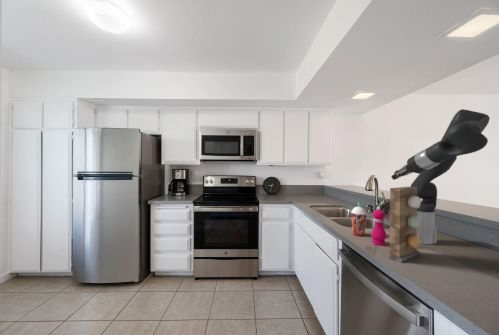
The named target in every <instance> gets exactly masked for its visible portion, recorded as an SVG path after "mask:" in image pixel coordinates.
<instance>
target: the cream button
mask: <svg viewBox="0 0 499 335" xmlns="http://www.w3.org/2000/svg"><path fill="white" fill-rule="evenodd" d="M421 201H422V199H420V198H419V197H416V196H409V197H408V201H407V203H408V206H409V207H414V208H419V207H420V203H421Z"/></svg>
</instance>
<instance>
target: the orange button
mask: <svg viewBox="0 0 499 335" xmlns="http://www.w3.org/2000/svg"><path fill="white" fill-rule="evenodd" d="M407 244H408V246H410V247H414V248H417V249H419V248H420V246H421V243H420V238H419V237H416V236H412V235H409V237H408V239H407Z"/></svg>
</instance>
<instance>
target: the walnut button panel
mask: <svg viewBox="0 0 499 335" xmlns="http://www.w3.org/2000/svg"><path fill="white" fill-rule="evenodd" d="M409 196H416V197H417V187H410V186H401V187H390V188H389V255H388V258H389V259H390V260H393V261H395V262H398V263H403V262H406V261H409V260H410V259H412V258H415V257H418V256H420V252H421V251H419V250H417V249H418V248H414V247H410V246H408V244H407V239H408V237H409V235H412V236H416V237H417V228H414V227H409V226H408V224H407V220H408V217H409V216H416V217H417V208H414V207H409V206H408V203H407V201H408V197H409Z"/></svg>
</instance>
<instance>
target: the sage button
mask: <svg viewBox="0 0 499 335" xmlns="http://www.w3.org/2000/svg"><path fill="white" fill-rule="evenodd" d="M407 224H408V226H409V227H414V228H419V226H420V218H419V217H416V216H409V217H408V220H407Z"/></svg>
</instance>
